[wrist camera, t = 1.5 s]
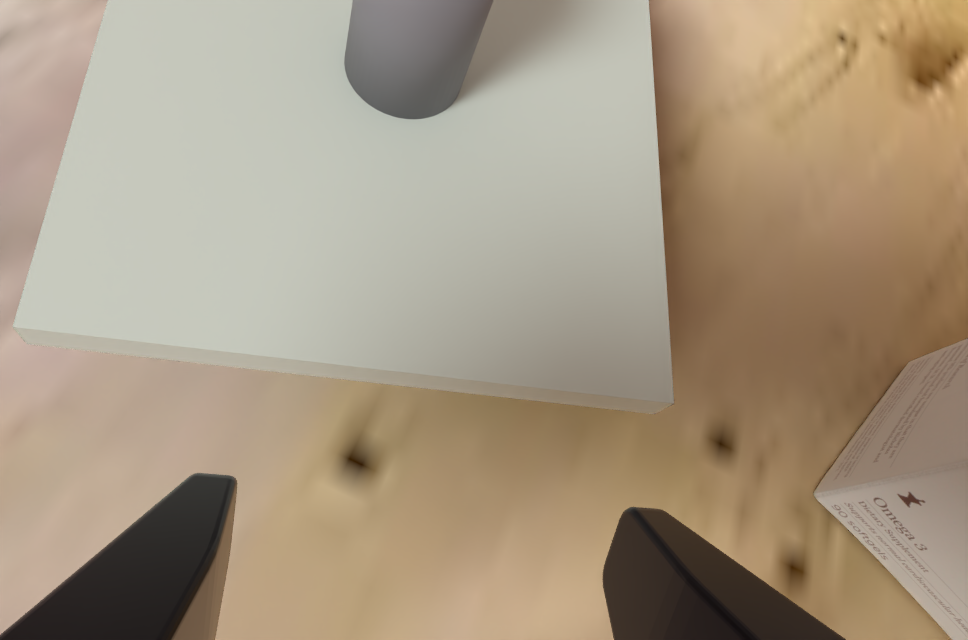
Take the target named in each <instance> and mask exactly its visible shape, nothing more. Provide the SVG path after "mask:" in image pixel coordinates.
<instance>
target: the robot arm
mask: <svg viewBox="0 0 968 640" xmlns="http://www.w3.org/2000/svg"><path fill="white" fill-rule="evenodd" d="M236 494H237V480H236V478H234V477H233V476H229V475H217V474H204V473H196V474H193V475H191V476H190V477H188V478H187V479H186V480H185V481H184V482H182V483H181V484H180V485H179V486H178V487H176V488H175V489H174V490H173V491H172V492H170V493H169V494H168V495H167V496H166V497H164V498H163V499H162V500H161V501H160V502H158V503H157V504H156V505H155V506H154V507H152V508H151V509H150V510H149V511H148V512H147V513H145V514H144V515H143V516H142V517H141V518H139V519H138V520H137V521H136V522H135V523H133V524H132V525H131V526H130V527H129V528H127V529H126V530H125V531H124V532H123V533H121V534H120V535H119V536H118V537H117V538H115V539H114V540H113V541H112V542H111V543H109V544H108V545H107V546H106V547H105V548H104V549H102V550H101V551H100V552H99V553H98V554H96V555H95V556H94V557H93V558H92V559H90V560H89V561H88V562H87V563H86V564H84V565H83V566H82V567H81V568H80V569H78V570H77V571H76V572H75V573H74V574H72V575H71V576H70V577H69V578H68V579H66V580H65V581H64V582H63V583H62V584H61V585H59V586H58V587H57V588H56V589H55V590H53V591H52V592H51V593H50V594H49V595H47V596H46V597H45V598H44V599H43V600H41V601H40V602H39V603H38V604H37V605H35V606H34V607H33V608H32V609H31V610H29V611H28V612H27V613H26V614H25V615H24V616H22V617H21V618H20V619H19V620H18V621H16V622H15V623H14V624H13V625H12V626H10V627H9V628H8V629H7V630H6V631H4V632H3V633H2V634H1V635H0V640H215V636H216V631H217V625H218V619H219V614H220V608H221V602H222V597H223V591H224V585H225V580H226V574H227V568H228V562H229V556H230V549H231V540H232V531H233V522H234V512H235V503H236ZM603 588H604V593H605V598H606V603H607V608H608V613H609V617H610V622H611V627H612V632H613V637H614V640H846V639H844V638H843V637H841V636H840V635H838V634H837V633H836V632H834V631H833V630H831V629H830V628H829V627H827V626H826V625H824V624H823V623H822V622H820V621H819V620H817V619H816V618H815V617H813V616H812V615H810V614H809V613H807V612H806V611H805V610H803V609H802V608H800V607H799V606H798V605H796V604H795V603H793V602H792V601H791V600H789V599H788V598H786V597H785V596H784V595H782V594H781V593H779V592H778V591H776V590H775V589H774V588H772V587H771V586H769V585H768V584H767V583H765V582H764V581H762V580H761V579H760V578H758V577H757V576H755V575H754V574H753V573H751V572H750V571H748V570H747V569H745V568H744V567H743V566H741V565H740V564H738V563H737V562H736V561H734V560H733V559H731V558H730V557H729V556H727V555H726V554H724V553H723V552H722V551H720V550H719V549H717V548H716V547H715V546H713V545H712V544H710V543H709V542H707V541H706V540H705V539H703V538H702V537H700V536H699V535H698V534H696V533H695V532H693V531H692V530H691V529H689V528H688V527H686V526H685V525H684V524H682V523H681V522H679V521H678V520H676V519H675V518H674V517H672V516H671V515H669V514H668V513H667V512H665V511H663V510H660V509H651V508H638V507H630V508H628V509H626V510H625V511H624V512H623V514H622V515H621V518H620V520H619V523H618V526H617V529H616V532H615V534H614V537H613V540H612V543H611V546H610V549H609V552H608V555H607V558H606V561H605V565H604V570H603Z"/></svg>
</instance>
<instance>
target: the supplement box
mask: <svg viewBox="0 0 968 640" xmlns="http://www.w3.org/2000/svg"><path fill="white" fill-rule="evenodd" d="M814 496H815V498H816V499H817V500H818V501H819V502H820V503H821V504H822V505H823V506H824V507H825V508H826V509H827V510H828V511H829V512H830V513H831V514H832V515H834V516H835V517H836V518H837V519H838V520H839V521H840V522H841V523H842V524H843V525H844V526H845V527H846V528H847V529H848V530H849V531H850V532H851V533H852V534H853V535H854V536H855V537H856V538H857V539H858V540H859V541H860V542H861V543H862V544H863V545H864V546H865V547H866V548H867V549H868V550H869V551H870V552H871V553H872V554H873V555H874V556H875V557H876V558H877V559H878V560H879V561H880V562H881V563H882V564H883V566H884V567H885V568H886V569H887V570H888V571H889V572H890V573H891V574H892V575H893V576H894V577H895V578H896V579H897V580H898V582H899V583H900V584H901V585H902V586H903V587H904V588H905V589H906V590H907V591H908V592H909V593H910V594H911V595H912V596H913V597H914V599H915V600H916V601H917V602H918V603H919V604H920V605H921V606H922V607H923V608H924V609H925V610H926V611H927V612H928V613H929V615H930V616H931V617H932V618H933V619H934V620H935V621H936V622H937V624H938V625H939V626H940V627H941V628H942V629H943V630H944V631H945V632H946V633H947V635H948V636H949V637H950V638H951V639H952V640H968V338H967V339H965V340H962V341H960V342H957V343H955V344H952V345H950V346H947V347H945V348H942V349H939V350H937V351H934V352H932V353H929V354H927V355H924V356H922V357H919V358H917V359H915V360H912V361H910V362H908V363H907V365H906V366H905V367H904V369H903V370H902V371H901V373H900V374H899V375H898V377H897V378H896V379H895V381H894V382H893V383H892V385H891V386H890V388H889V389H888V390H887V392H886V393H885V394H884V396H883V397H882V398H881V400H880V401H879V403H878V404H877V405H876V406H875V407H874V409H873V410H872V412H871V413H870V415H869V416H868V417H867V419H866V420H865V422H864V423H863V424H862V425H861V427H860V428H859V429H858V431H857V432H856V433H855V435H854V436H853V438H852V439H851V440H850V442H849V443H848V445H847V446H846V447H845V449H844V450H843V451H842V453H841V454H840V455H839V457H838V458H837V460H836V461H835V463H834V464H833V465H832V467H831V468H830V469H829V471H828V472H827V473H826V475H825V476H824V477H823V479H822V480H821V482H820V483H819V485H818V487H817V488H816V490H815V491H814Z"/></svg>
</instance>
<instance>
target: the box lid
mask: <svg viewBox="0 0 968 640" xmlns="http://www.w3.org/2000/svg"><path fill="white" fill-rule="evenodd" d="M13 328H14V329H15V330H16V332H17V333H18V334H19V335H20V336H21V338H22V339H23V340H24V341H25V342H26V344H30V345H39V346H48V347H57V348H66V349H75V350H84V351H93V352H102V353H111V354H120V355H129V356H138V357H147V358H156V359H164V360H173V361H182V362H191V363H200V364H209V365H218V366H227V367H236V368H245V369H254V370H263V371H272V372H281V373H290V374H299V375H308V376H317V377H326V378H334V379H343V380H352V381H361V382H370V383H379V384H388V385H397V386H406V387H415V388H424V389H433V390H442V391H451V392H460V393H469V394H478V395H487V396H496V397H504V398H513V399H522V400H531V401H540V402H549V403H558V404H567V405H576V406H585V407H594V408H603V409H612V410H621V411H630V412H639V413H648V414H656V413H658V412H660V411H661V410H663V409H665V408H667V407H669V406H671V405H673V404H674V393H673V377H672V361H671V345H670V330H669V314H668V298H667V282H666V266H665V250H664V234H663V219H662V203H661V187H660V171H659V155H658V139H657V123H656V108H655V92H654V76H653V60H652V44H651V28H650V12H649V0H108V1H107V5H106V8H105V12H104V15H103V19H102V22H101V25H100V29H99V32H98V36H97V39H96V43H95V46H94V49H93V53H92V56H91V60H90V63H89V67H88V70H87V73H86V77H85V80H84V84H83V87H82V91H81V94H80V97H79V101H78V104H77V108H76V111H75V115H74V118H73V121H72V125H71V128H70V132H69V135H68V139H67V142H66V145H65V149H64V152H63V156H62V159H61V163H60V166H59V169H58V173H57V176H56V180H55V183H54V187H53V190H52V193H51V197H50V200H49V204H48V207H47V211H46V214H45V217H44V221H43V224H42V228H41V231H40V235H39V238H38V241H37V245H36V248H35V252H34V255H33V259H32V262H31V265H30V269H29V272H28V276H27V279H26V283H25V286H24V289H23V293H22V296H21V300H20V303H19V307H18V310H17V313H16V317H15V320H14V324H13Z"/></svg>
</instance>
